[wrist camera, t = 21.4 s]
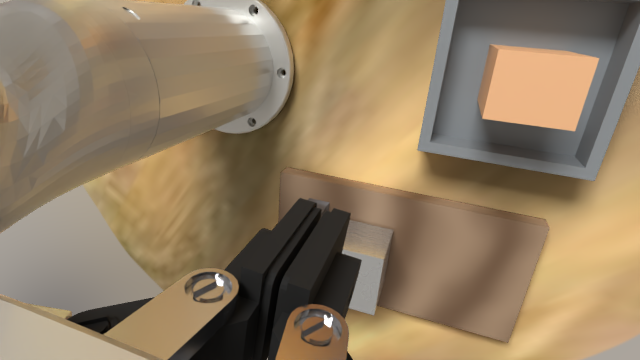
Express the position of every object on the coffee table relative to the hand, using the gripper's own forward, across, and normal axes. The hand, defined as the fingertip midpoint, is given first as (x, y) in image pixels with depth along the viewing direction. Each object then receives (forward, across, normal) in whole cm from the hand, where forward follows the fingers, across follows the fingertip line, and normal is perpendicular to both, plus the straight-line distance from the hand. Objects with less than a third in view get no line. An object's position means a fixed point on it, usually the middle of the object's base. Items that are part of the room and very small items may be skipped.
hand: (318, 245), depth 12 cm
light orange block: (+22, -8, -4) cm, 24 cm away
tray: (+23, -8, -4) cm, 24 cm away
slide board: (+23, -3, +13) cm, 26 cm away
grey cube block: (+21, 0, +13) cm, 25 cm away
